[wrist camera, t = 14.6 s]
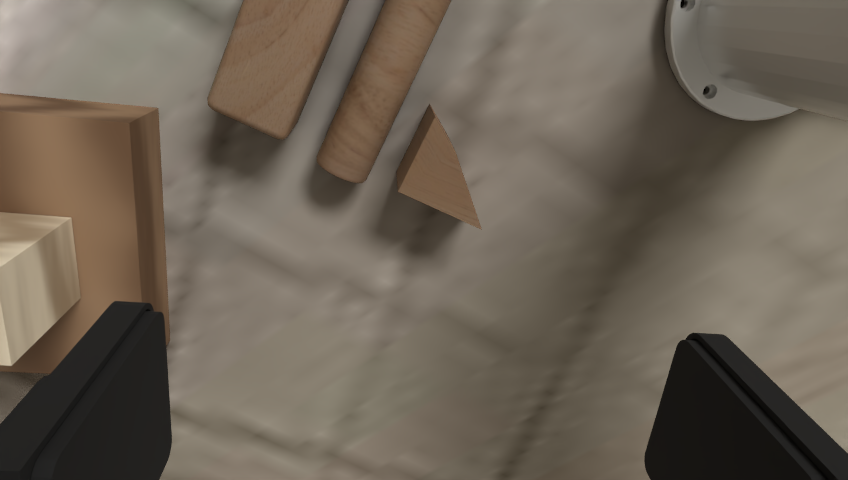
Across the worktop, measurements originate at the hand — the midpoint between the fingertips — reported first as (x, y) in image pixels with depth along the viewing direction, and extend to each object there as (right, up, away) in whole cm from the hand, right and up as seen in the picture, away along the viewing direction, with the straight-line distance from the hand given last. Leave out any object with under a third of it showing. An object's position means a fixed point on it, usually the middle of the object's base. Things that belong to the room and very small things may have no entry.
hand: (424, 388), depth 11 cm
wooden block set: (-1, +15, +25) cm, 29 cm away
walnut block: (-23, +4, +28) cm, 36 cm away
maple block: (-22, +2, +23) cm, 32 cm away
